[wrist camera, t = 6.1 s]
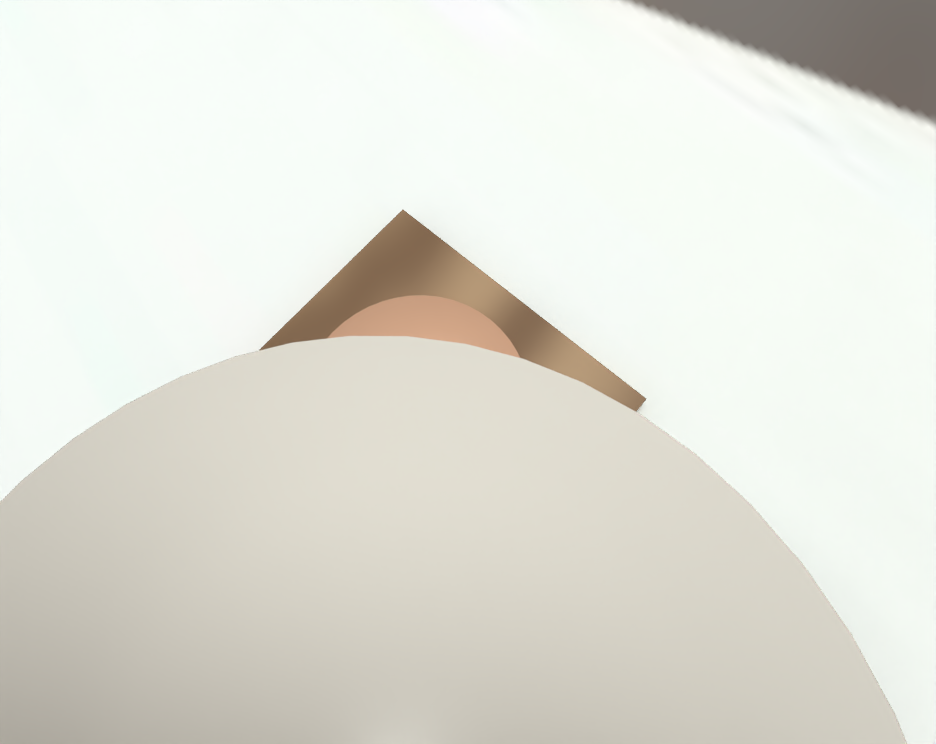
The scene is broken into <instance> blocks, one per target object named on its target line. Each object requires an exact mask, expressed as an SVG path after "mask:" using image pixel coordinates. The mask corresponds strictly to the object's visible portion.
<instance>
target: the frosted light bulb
mask: <svg viewBox="0 0 936 744" xmlns="http://www.w3.org/2000/svg"><path fill="white" fill-rule="evenodd" d="M0 744H907V742H906V740H905V737H904V735H903V732H902V730H901V728H900V725H899V723H898V720H897V718H896V716H895V713H894V712H893V710H892V708H891V706H890V704H889V702H888V700H887V699H886V697H885V695H884V693H883V691H882V689H881V688H880V686H879V684H878V682H877V680H876V678H875V677H874V675H873V673H872V671H871V669H870V667H869V666H868V664H867V662H866V660H865V658H864V656H863V655H862V653H861V651H860V649H859V647H858V645H857V644H856V642H855V640H854V638H853V636H852V634H851V633H850V631H849V630H848V628H847V627H846V626H845V624H844V623H843V621H842V620H841V618H840V617H839V615H838V614H837V613H836V611H835V610H834V608H833V607H832V605H831V604H830V602H829V601H828V600H827V598H826V597H825V595H824V594H823V592H822V591H821V589H820V588H819V587H818V585H817V584H816V582H815V581H814V579H813V578H812V576H811V575H810V574H809V572H808V571H807V569H806V568H805V566H804V565H803V564H802V562H801V561H800V560H799V559H798V558H797V557H796V556H795V554H794V553H793V552H792V551H791V550H790V549H789V547H788V546H787V545H786V544H785V543H784V542H783V541H782V539H781V538H780V537H779V536H778V535H777V534H776V533H775V531H774V530H773V529H772V528H771V527H770V526H769V525H768V523H767V522H766V521H765V520H764V519H763V518H762V517H761V515H760V514H759V513H758V512H757V511H756V510H755V509H754V507H753V506H752V505H751V504H750V503H749V502H748V501H747V500H746V499H745V498H743V497H742V496H741V495H740V494H739V493H738V492H737V491H736V490H735V489H734V488H732V487H731V486H730V485H729V484H728V483H727V482H726V481H725V480H724V479H723V478H722V477H720V476H719V475H718V474H717V473H716V472H715V471H714V470H713V469H712V468H711V467H709V466H708V465H707V464H706V463H705V462H704V461H703V460H702V459H701V458H700V457H698V456H697V455H696V454H695V453H694V452H692V451H691V450H689V449H688V448H687V447H685V446H684V445H682V444H681V443H680V442H678V441H677V440H675V439H674V438H673V437H671V436H670V435H669V434H667V433H666V432H664V431H663V430H662V429H660V428H659V427H657V426H656V425H655V424H653V423H652V422H650V421H649V420H648V419H646V418H645V417H643V416H642V415H641V414H639V413H637V412H636V411H634V410H632V409H630V408H628V407H626V406H625V405H623V404H621V403H619V402H617V401H615V400H614V399H612V398H610V397H608V396H606V395H605V394H603V393H601V392H599V391H597V390H595V389H594V388H592V387H590V386H588V385H586V384H585V383H583V382H580V381H578V380H575V379H573V378H570V377H568V376H565V375H563V374H560V373H558V372H555V371H553V370H550V369H548V368H545V367H543V366H540V365H538V364H535V363H533V362H530V361H528V360H525V359H522V358H518V357H514V356H511V355H507V354H503V353H499V352H495V351H491V350H488V349H484V348H480V347H476V346H472V345H468V344H464V343H456V342H448V341H441V340H433V339H425V338H418V337H410V336H344V337H335V338H327V339H318V340H310V341H302V342H293V343H289V344H284V345H280V346H276V347H272V348H268V349H264V350H260V351H256V352H251V353H247V354H243V355H239V356H235V357H233V358H230V359H227V360H224V361H222V362H219V363H216V364H214V365H211V366H208V367H206V368H203V369H200V370H197V371H195V372H192V373H189V374H187V375H184V376H181V377H179V378H177V379H175V380H173V381H171V382H169V383H167V384H165V385H163V386H161V387H159V388H157V389H155V390H153V391H151V392H149V393H147V394H145V395H143V396H141V397H139V398H138V399H136V400H134V401H132V402H130V403H128V404H126V405H124V406H123V407H121V408H120V409H118V410H117V411H115V412H113V413H112V414H110V415H109V416H107V417H106V418H104V419H103V420H101V421H100V422H98V423H97V424H95V425H93V426H92V427H90V428H89V429H87V430H86V431H84V432H83V433H81V434H80V435H78V436H77V437H75V438H73V439H72V440H71V441H70V442H69V443H67V444H66V445H65V446H64V447H62V448H61V449H60V450H59V451H57V452H56V453H55V454H54V455H53V456H51V457H50V458H49V459H48V460H46V461H45V462H44V463H43V464H41V465H40V466H39V467H38V468H36V469H35V470H34V471H33V472H32V473H30V474H29V475H28V476H27V477H25V478H24V479H23V480H22V481H21V482H20V483H19V484H18V485H17V486H16V487H15V488H14V489H13V490H12V491H11V492H10V493H9V494H8V495H7V496H6V497H5V498H4V499H3V500H2V501H1V502H0Z"/></svg>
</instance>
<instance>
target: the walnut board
mask: <svg viewBox="0 0 936 744" xmlns="http://www.w3.org/2000/svg"><path fill="white" fill-rule="evenodd" d="M413 295H427V296H437V297H443V298H447V299H451V300H455V301H457V302H460V303H463V304H465V305H468V306H470V307H471V308H473V309H475V310H477V311H479V312H480V313H482V314H483V315H485V316H486V317H488V318H489V319H490V320H492V321H493V322H494V323H495V324H496V325H497V326H498V327H499V328H500V329H501V330H502V331H503V332H504V333H505V335H506V336H507V337H508V338H509V339H510V341H511V342H512V344H513V346H514V347H515V349H516V350H517V352H518V354H519V356H520V358H522V359H525V360H528V361H530V362H533V363H535V364H538V365H540V366H543V367H545V368H548V369H550V370H553V371H555V372H558V373H560V374H563V375H565V376H568V377H570V378H573V379H575V380H578V381H580V382H583V383H585V384H586V385H588V386H590V387H592V388H594V389H595V390H597V391H599V392H601V393H603V394H605V395H606V396H608V397H610V398H612V399H614V400H615V401H617V402H619V403H621V404H623V405H625V406H626V407H628V408H630V409H632V410H634V411H637V410H638V409H639V407H640V406H641V405H642V404H643V403H644V401H645V400H646V398H645V397H643V396H642V395H641V394H639V393H638V392H637V391H636V390H634V389H633V388H632V387H630V386H629V385H628V384H627V383H625V382H624V381H623V380H621V379H620V378H619V377H618V376H616V375H615V374H614V373H612V372H611V371H610V370H609V369H607V368H606V367H605V366H603V365H602V364H601V363H600V362H598V361H597V360H596V359H594V358H593V357H592V356H591V355H589V354H588V353H587V352H585V351H584V350H583V349H582V348H580V347H579V346H578V345H576V344H575V343H574V342H573V341H571V340H570V339H569V338H567V337H566V336H565V335H564V334H562V333H561V332H560V331H558V330H557V329H556V328H555V327H553V326H552V325H551V324H549V323H548V322H547V321H546V320H544V319H543V318H542V317H540V316H539V315H538V314H537V313H535V312H534V311H533V310H531V309H530V308H529V307H528V306H526V305H525V304H524V303H522V302H521V301H520V300H519V299H517V298H516V297H515V296H513V295H512V294H511V293H510V292H508V291H507V290H506V289H504V288H503V287H502V286H501V285H499V284H498V283H497V282H495V281H494V280H493V279H492V278H490V277H489V276H488V275H486V274H485V273H484V272H483V271H481V270H480V269H479V268H477V267H476V266H475V265H474V264H472V263H471V262H470V261H468V260H467V259H466V258H465V257H463V256H462V255H461V254H459V253H458V252H457V251H456V250H454V249H453V248H452V247H450V246H449V245H448V244H447V243H445V242H444V241H443V240H441V239H440V238H439V237H438V236H436V235H435V234H434V233H432V232H431V231H430V230H429V229H427V228H426V227H425V226H423V225H422V224H421V223H420V222H418V221H417V220H416V219H414V218H413V217H412V216H411V215H409V214H408V213H407V212H405V211H404V210H402V211H401V212H400V213H399V214H398V215H397V216H396V217H395V218H394V219H393V220H392V221H391V222H390V223H389V224H388V225H387V226H386V227H385V228H383V229H382V230H381V231H380V232H379V233H378V234H377V235H376V236H375V237H374V238H373V239H372V240H371V241H370V242H369V243H368V244H367V245H366V246H365V247H364V248H363V249H362V250H361V251H360V252H359V253H358V254H357V255H356V256H355V257H354V258H353V259H352V260H351V261H350V262H349V263H348V264H347V265H346V266H345V267H344V268H343V269H342V270H341V271H340V272H339V273H338V274H337V275H335V276H334V277H333V278H332V279H331V280H330V281H329V282H328V283H327V284H326V285H325V286H324V287H323V288H322V289H321V290H320V291H319V292H318V293H317V294H316V295H315V296H314V297H313V298H312V299H311V300H310V301H309V302H308V303H307V304H306V305H305V306H304V307H303V308H302V309H301V310H300V311H299V312H298V313H297V314H296V315H295V316H294V317H293V318H292V319H291V320H290V321H289V322H287V323H286V324H285V325H284V326H283V327H282V328H281V329H280V330H279V331H278V332H277V333H276V334H275V335H274V336H273V337H272V338H271V339H270V340H269V341H268V342H267V343H266V344H265V345H264V346H263V347H262V348H261V349H260V350H264V349H268V348H272V347H276V346H280V345H284V344H289V343H293V342H302V341H310V340H318V339H327V338H328V337H329V336H330V335H331V333H332V332H333V331H334V330H335V329H337V328H338V327H339V326H340V325H341V324H342V323H343V322H345V321H346V320H347V319H349V318H350V317H352V316H353V315H355V314H356V313H358V312H360V311H362V310H363V309H365V308H367V307H369V306H372V305H374V304H377V303H379V302H382V301H385V300H389V299H393V298H397V297H404V296H413ZM260 350H259V351H260Z"/></svg>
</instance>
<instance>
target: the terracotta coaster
mask: <svg viewBox="0 0 936 744" xmlns="http://www.w3.org/2000/svg"><path fill="white" fill-rule="evenodd" d="M344 336H410V337H418V338H425V339H433V340H441V341H448V342H456V343H464V344H468V345H472V346H476V347H480V348H484V349H488V350H491V351H495V352H499V353H503V354H507V355H511V356H514V357H518V358H520V356H519V354H518V352H517V350H516V349H515V347H514V346H513V344H512V342H511V341H510V339H509V338H508V337H507V336H506V335H505V333H504V332H503V331H502V330H501V329H500V328H499V327H498V326H497V325H496V324H495V323H494V322H493V321H492V320H490V319H489V318H488V317H486V316H485V315H483V314H482V313H480V312H479V311H477V310H475V309H473V308H471V307H470V306H468V305H465V304H463V303H460V302H457V301H455V300H451V299H447V298H443V297H437V296H427V295H413V296H404V297H397V298H393V299H389V300H385V301H382V302H379V303H377V304H374V305H372V306H369V307H367V308H365V309H363V310H362V311H360V312H358V313H356V314H355V315H353V316H352V317H350V318H349V319H347V320H346V321H345V322H343V323H342V324H341V325H340V326H339V327H338V328H337V329H335V330H334V331H333V332H332V333H331V335H330V336H329V337H328V338H335V337H344Z"/></svg>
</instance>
